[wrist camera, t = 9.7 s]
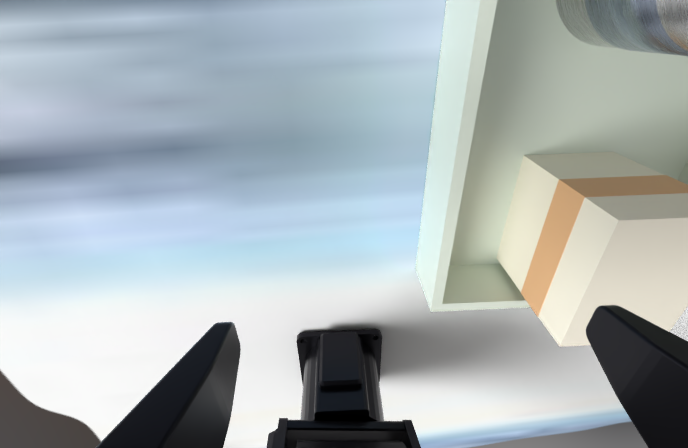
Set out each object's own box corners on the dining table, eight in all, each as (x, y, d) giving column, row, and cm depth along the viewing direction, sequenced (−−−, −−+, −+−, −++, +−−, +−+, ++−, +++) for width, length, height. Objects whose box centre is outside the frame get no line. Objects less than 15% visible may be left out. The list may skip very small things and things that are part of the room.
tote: (632, 259, 23) (685, 300, 20) (415, 268, 23) (430, 312, 19) (883, -206, 12) (1102, -296, 9) (469, -202, 12) (526, -293, 8)
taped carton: (571, 254, 22) (662, 342, 16) (495, 257, 22) (559, 347, 16) (613, 151, 18) (752, 214, 12) (523, 154, 18) (618, 220, 12)
